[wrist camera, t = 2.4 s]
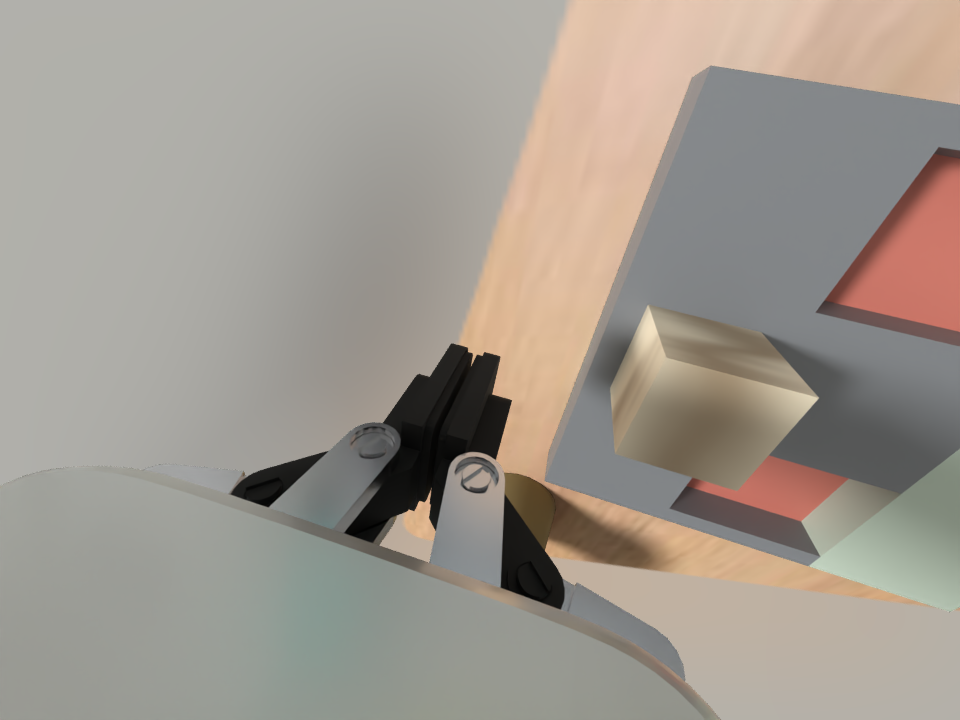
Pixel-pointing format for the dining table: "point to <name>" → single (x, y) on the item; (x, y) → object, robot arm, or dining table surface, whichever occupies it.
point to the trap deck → (804, 323)
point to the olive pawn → (531, 504)
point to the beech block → (703, 398)
